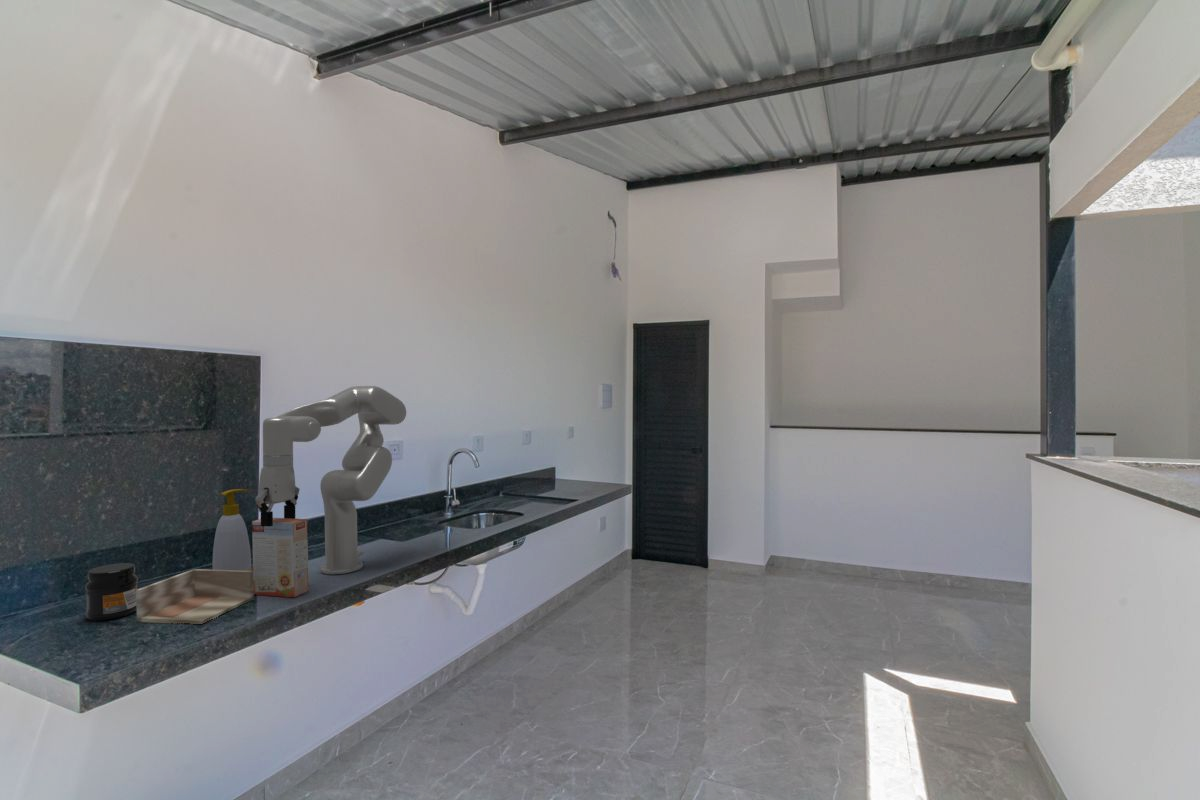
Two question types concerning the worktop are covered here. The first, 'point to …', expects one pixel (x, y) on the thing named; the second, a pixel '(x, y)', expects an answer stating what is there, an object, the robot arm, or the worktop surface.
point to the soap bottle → (231, 538)
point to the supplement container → (111, 592)
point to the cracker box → (280, 557)
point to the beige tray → (194, 596)
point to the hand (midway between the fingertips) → (278, 522)
